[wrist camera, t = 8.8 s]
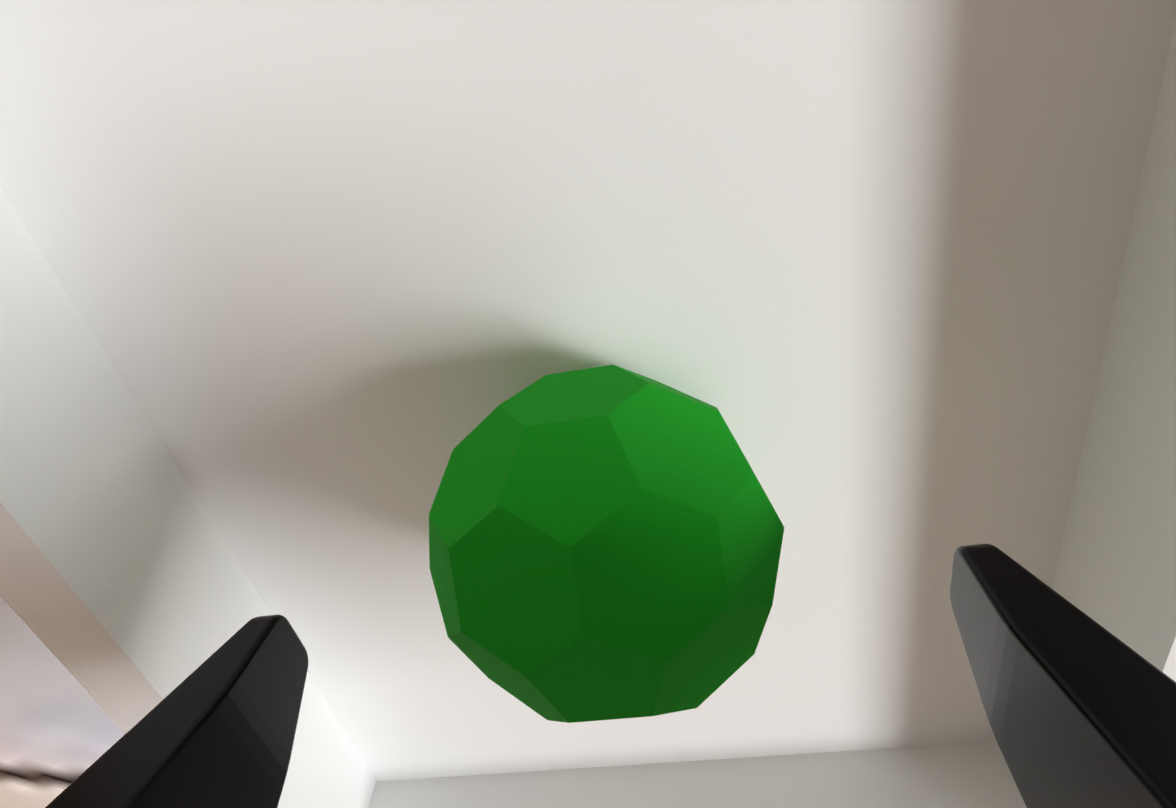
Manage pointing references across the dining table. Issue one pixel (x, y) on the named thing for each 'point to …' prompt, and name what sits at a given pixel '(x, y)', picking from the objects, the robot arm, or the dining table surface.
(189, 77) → the white tray
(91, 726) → the dining table surface
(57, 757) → the dining table surface
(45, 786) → the dining table surface
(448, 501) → the polyhedron
